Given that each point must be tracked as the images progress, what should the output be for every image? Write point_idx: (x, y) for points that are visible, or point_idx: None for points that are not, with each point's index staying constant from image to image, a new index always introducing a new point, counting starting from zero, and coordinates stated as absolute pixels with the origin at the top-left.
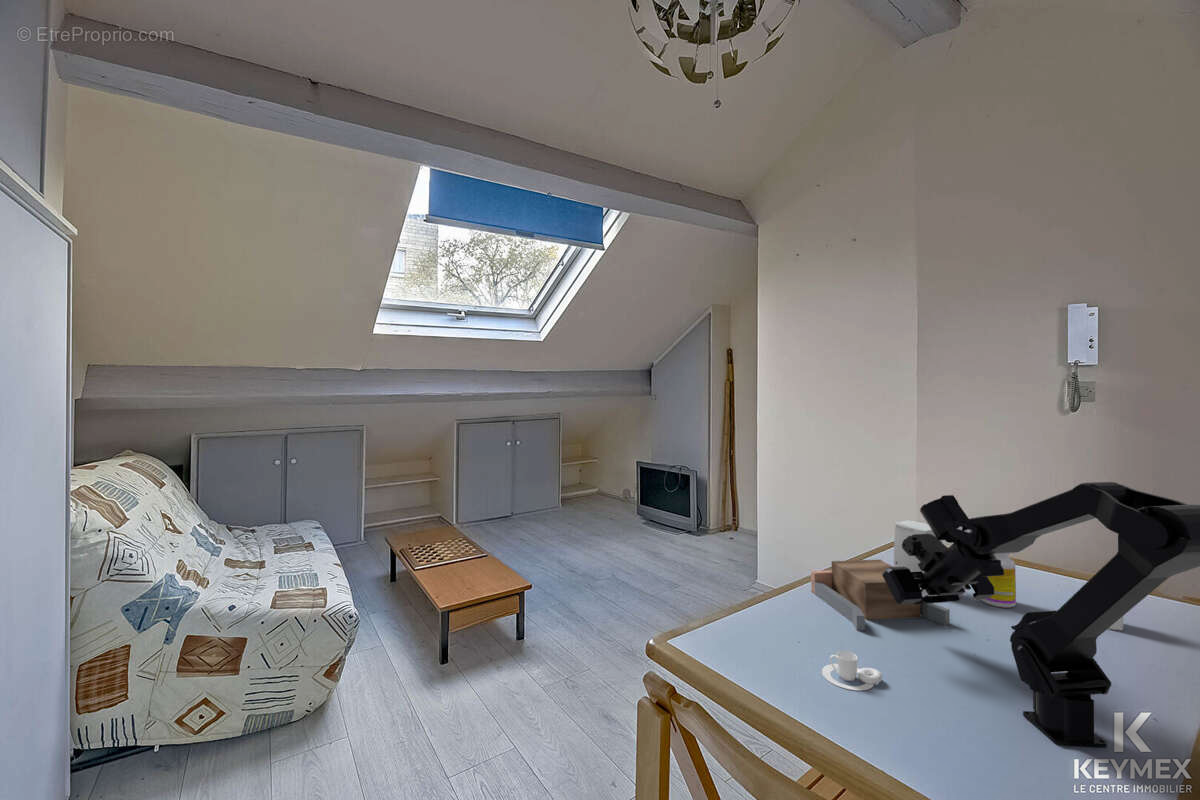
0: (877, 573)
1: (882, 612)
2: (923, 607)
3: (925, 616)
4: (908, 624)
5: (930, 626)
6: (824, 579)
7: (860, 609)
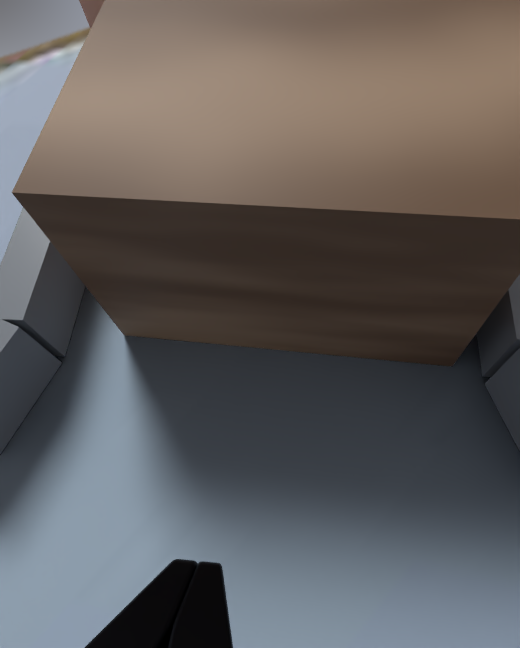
0: (284, 54)
1: (211, 327)
2: (500, 336)
3: (484, 372)
4: (311, 432)
5: (432, 484)
6: None
7: (10, 339)
